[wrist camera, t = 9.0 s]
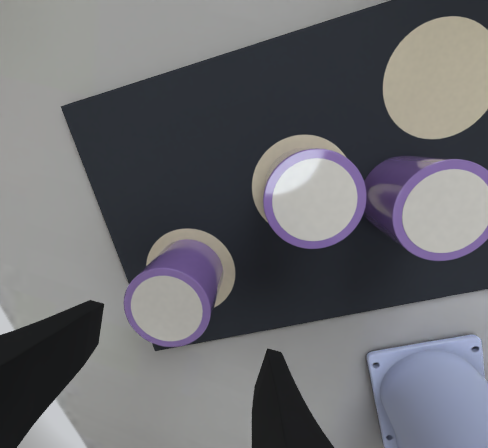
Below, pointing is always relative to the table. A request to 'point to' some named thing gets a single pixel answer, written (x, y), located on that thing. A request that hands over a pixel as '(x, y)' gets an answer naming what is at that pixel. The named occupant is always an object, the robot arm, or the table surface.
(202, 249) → the purple canister
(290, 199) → the purple white-topped cylinder
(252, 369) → the table surface
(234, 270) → the mat
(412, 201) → the purple cylinder white cap
